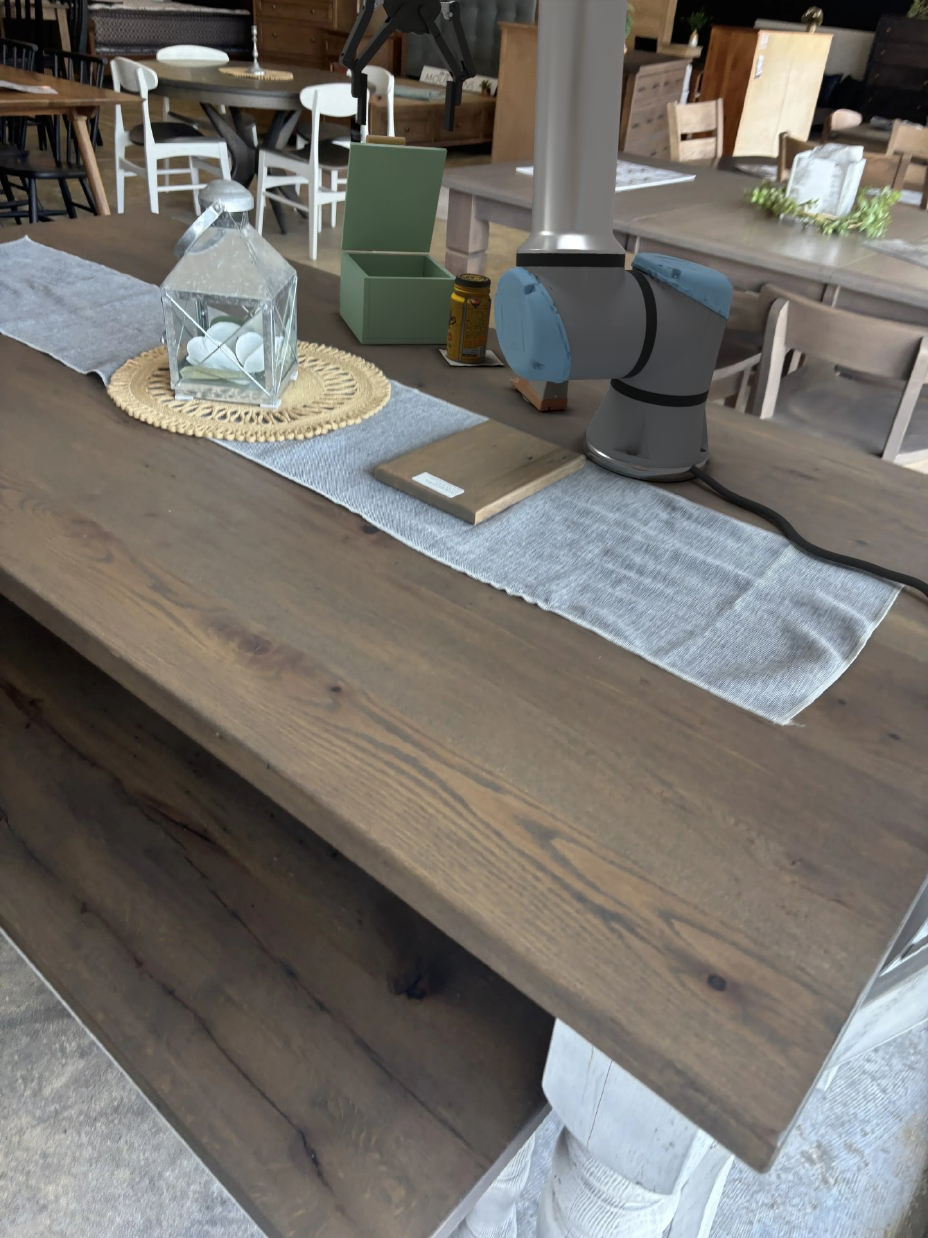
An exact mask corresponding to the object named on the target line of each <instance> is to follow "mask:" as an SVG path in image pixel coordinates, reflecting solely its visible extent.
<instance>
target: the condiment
mask: <svg viewBox="0 0 928 1238" xmlns="http://www.w3.org/2000/svg"><path fill="white" fill-rule="evenodd" d="M455 277H456V278H455V287H454V290H455V291H454V293H453V294H452V295H451V301H450V303H451V304H450V315H449V326H448V337H447V344H446V349H439V352H440V353H441V355H442V357H443V358H444V359H445V360H446V361H447V362H448V364H449V365H450V366H459V367H460V366H462V367H463V366H466V367H467V366H468V367H472V366H473V367H474V366H475V367H476V366H498V365H499V366H505V363H503V362H502V361H501V360H500V359H499V358H498V357H497V355H496V354H495V353H494V352H493V351H492V349H487V347H488V337H489V329H490V327H489V326H490V318H491V311H492V310H491V309H492V297H491V296H490V293H491V285H492V281H491V278H489V277H488V276H486V275H482V274H478V273H471V272H467V273H466V272H465V273H459V274H457V275H456V276H455Z"/></svg>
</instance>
